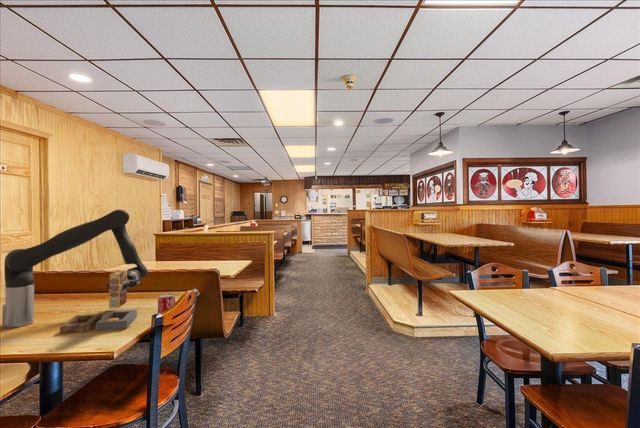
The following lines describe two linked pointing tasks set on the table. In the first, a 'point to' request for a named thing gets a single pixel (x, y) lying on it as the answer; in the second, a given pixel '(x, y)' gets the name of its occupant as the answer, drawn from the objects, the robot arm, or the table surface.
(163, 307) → the soda can
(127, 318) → the dock
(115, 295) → the candy box
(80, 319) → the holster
